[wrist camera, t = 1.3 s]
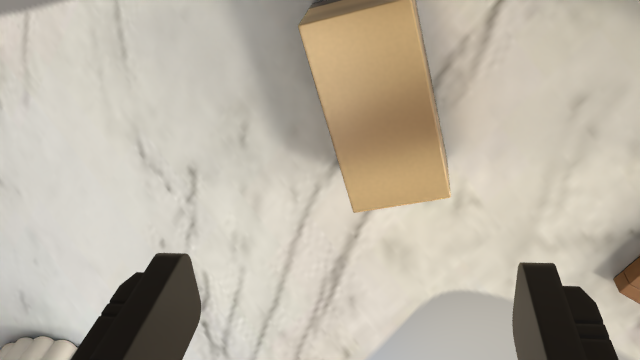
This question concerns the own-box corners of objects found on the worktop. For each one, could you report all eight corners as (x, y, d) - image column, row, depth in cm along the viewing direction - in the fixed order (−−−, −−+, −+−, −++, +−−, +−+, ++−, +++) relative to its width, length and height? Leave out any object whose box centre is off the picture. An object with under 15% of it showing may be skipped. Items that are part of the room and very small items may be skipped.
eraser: (311, 3, 28) (297, 25, 25) (411, -23, 27) (410, -4, 24) (359, 175, 33) (353, 213, 29) (447, 159, 32) (451, 198, 28)
